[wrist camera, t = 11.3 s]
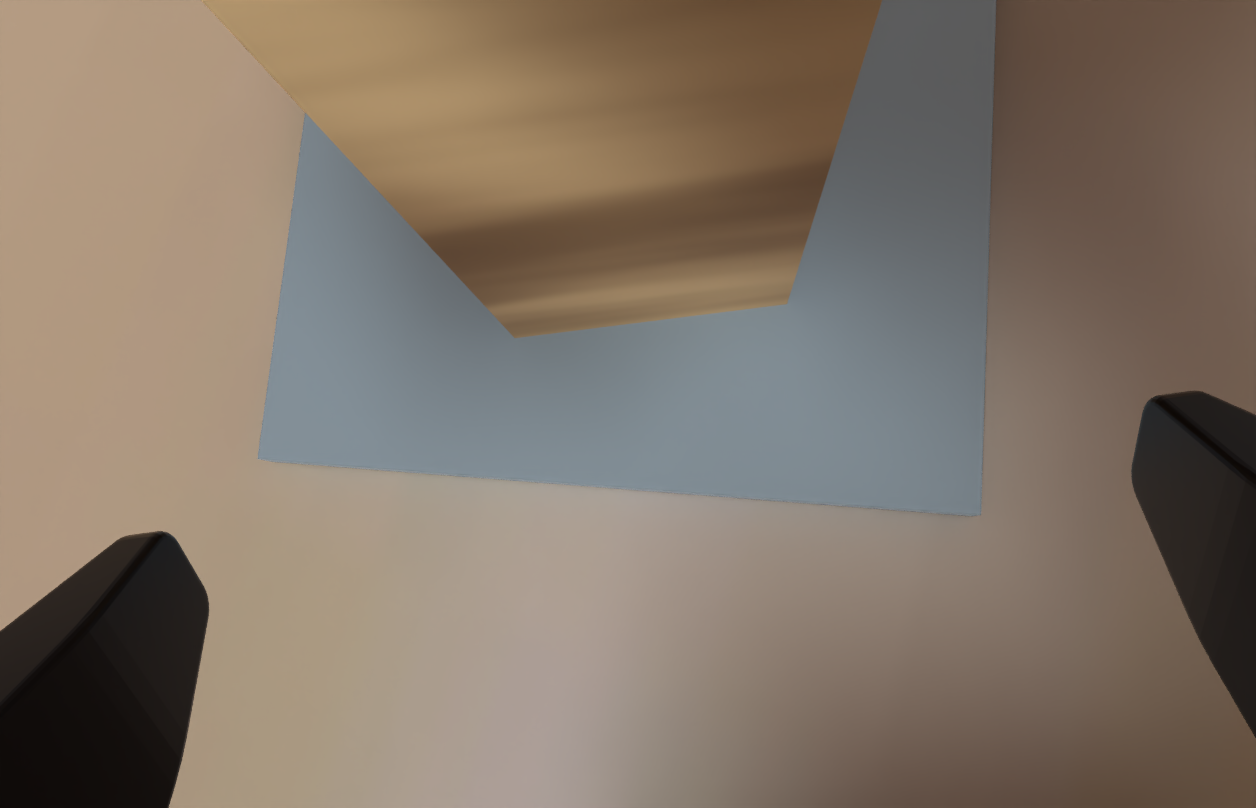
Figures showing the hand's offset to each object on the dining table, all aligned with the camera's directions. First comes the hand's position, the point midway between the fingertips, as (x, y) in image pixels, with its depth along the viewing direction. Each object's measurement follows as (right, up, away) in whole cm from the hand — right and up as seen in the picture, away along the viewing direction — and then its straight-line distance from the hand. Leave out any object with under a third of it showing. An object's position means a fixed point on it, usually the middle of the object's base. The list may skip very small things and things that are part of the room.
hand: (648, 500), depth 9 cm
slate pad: (0, +5, +10) cm, 11 cm away
